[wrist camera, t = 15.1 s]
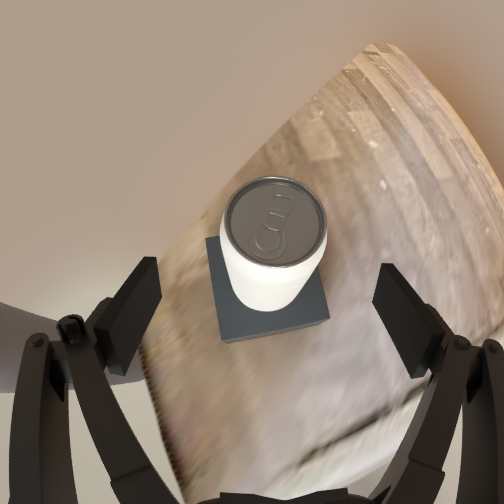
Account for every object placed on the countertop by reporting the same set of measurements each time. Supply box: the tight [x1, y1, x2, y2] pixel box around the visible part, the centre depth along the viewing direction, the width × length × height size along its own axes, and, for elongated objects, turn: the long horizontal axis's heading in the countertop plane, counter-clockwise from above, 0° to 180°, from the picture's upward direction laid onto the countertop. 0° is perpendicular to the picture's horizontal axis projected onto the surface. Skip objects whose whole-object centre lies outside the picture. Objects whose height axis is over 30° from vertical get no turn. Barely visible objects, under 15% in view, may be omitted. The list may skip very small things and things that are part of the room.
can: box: [220, 176, 327, 311], centre depth 21 cm, size 6×6×12 cm
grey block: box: [205, 236, 330, 343], centre depth 29 cm, size 10×10×5 cm
